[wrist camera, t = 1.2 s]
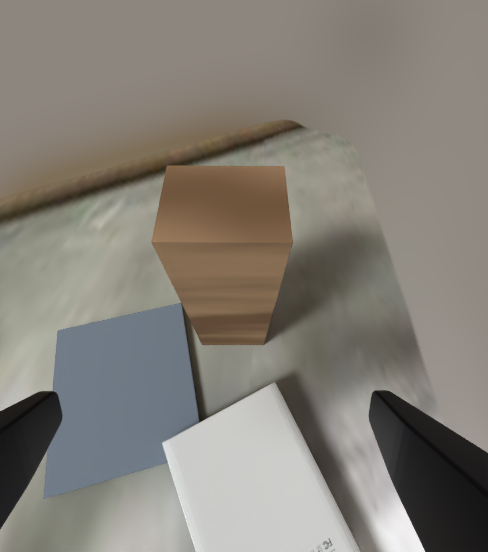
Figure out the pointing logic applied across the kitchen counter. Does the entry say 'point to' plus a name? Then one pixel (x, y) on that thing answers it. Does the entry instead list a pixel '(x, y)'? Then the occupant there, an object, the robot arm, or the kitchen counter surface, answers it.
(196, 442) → the external hard drive
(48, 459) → the rubber mat
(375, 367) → the kitchen counter surface
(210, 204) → the walnut block
